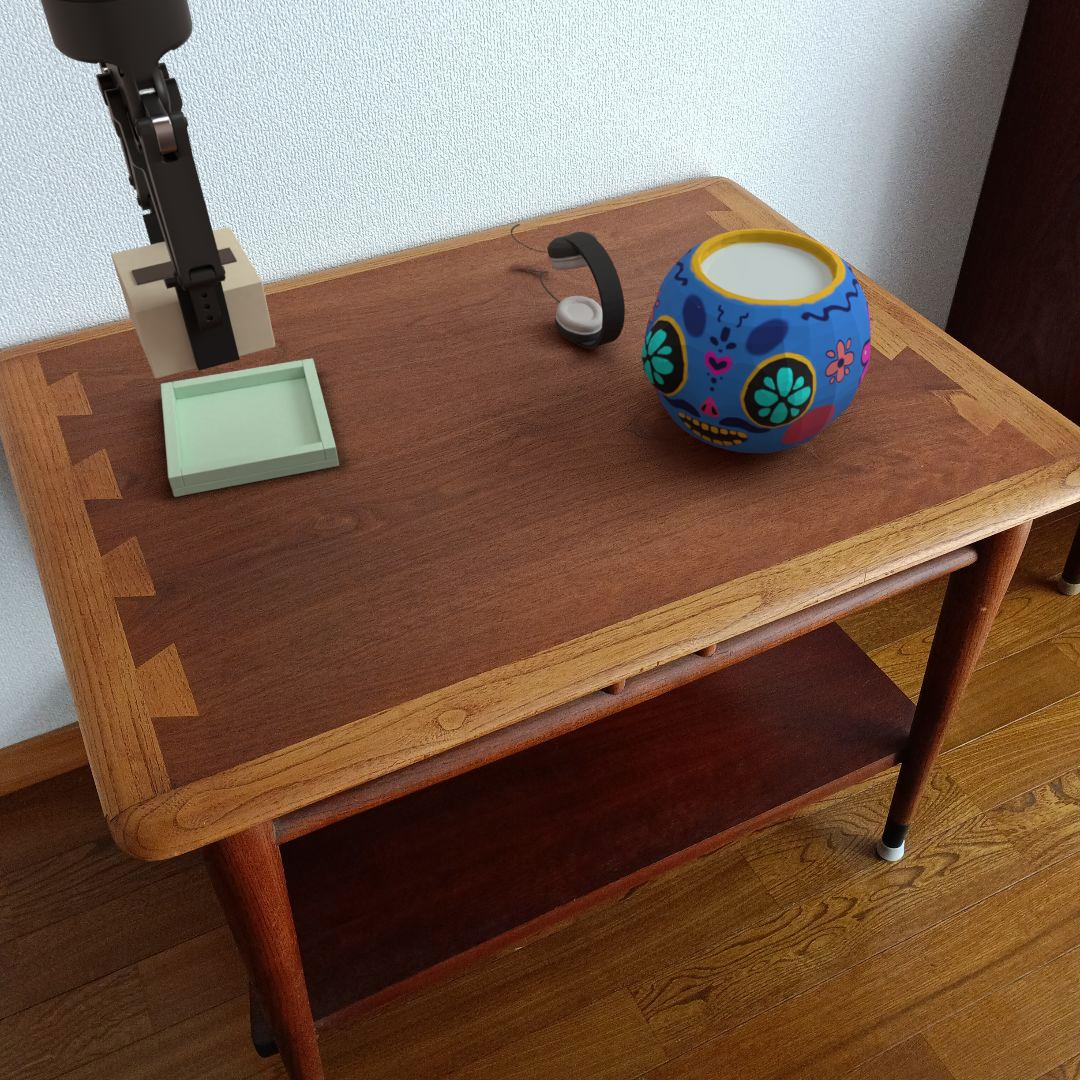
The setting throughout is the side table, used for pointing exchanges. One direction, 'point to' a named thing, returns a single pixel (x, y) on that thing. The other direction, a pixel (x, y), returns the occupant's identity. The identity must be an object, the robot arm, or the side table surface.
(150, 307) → the beige block
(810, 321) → the ceramic pot
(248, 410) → the shallow tray
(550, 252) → the headphones
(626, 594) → the side table surface
